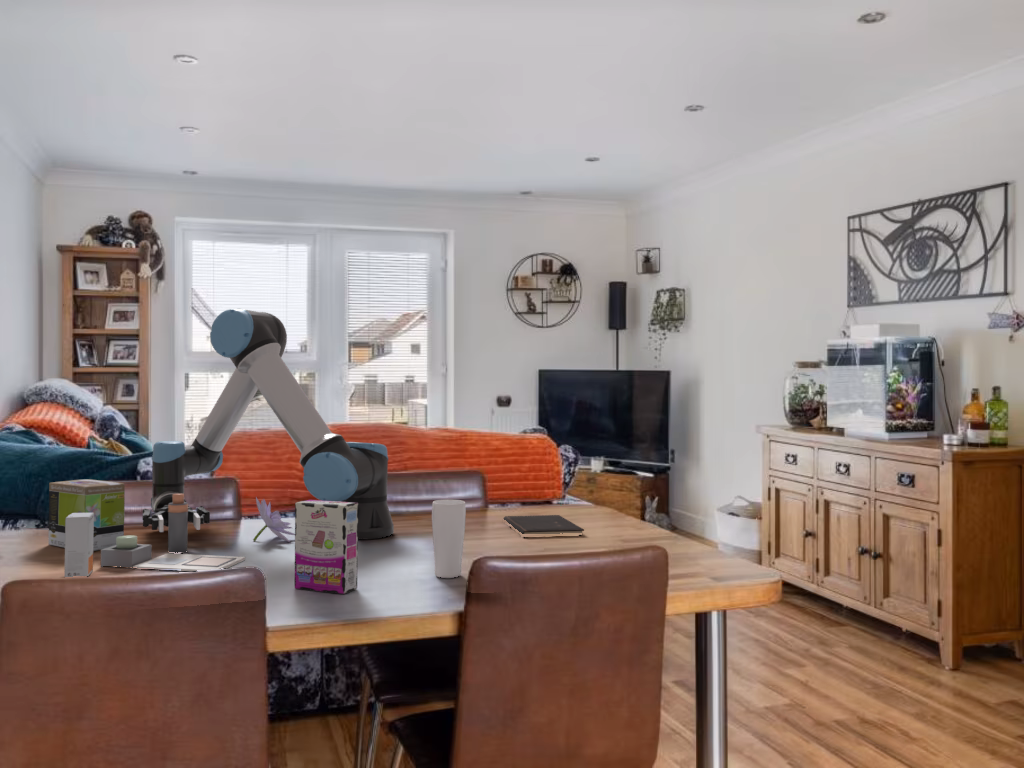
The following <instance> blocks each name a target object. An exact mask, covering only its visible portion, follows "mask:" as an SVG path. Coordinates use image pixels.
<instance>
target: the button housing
mask: <svg viewBox="0 0 1024 768" xmlns="http://www.w3.org/2000/svg"><path fill="white" fill-rule="evenodd" d="M152 546H153V545H152V544H145V543H143V544H141V543H137V547H134V548H128V549H119V548H116V545H114V546H111V547H108V548H105V549H102V550H100V567H102V568H104V567H103V566H117V567H120V566H121V567H133V566H135V565H137V564H140V563H143V562H145V561H148V560H151V559H153V558H152V557H153V556H152V554H153V553H152V548H153V547H152Z"/></svg>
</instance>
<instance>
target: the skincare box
mask: <svg viewBox="0 0 1024 768" xmlns="http://www.w3.org/2000/svg"><path fill="white" fill-rule="evenodd" d="M93 534H94V513H72V514H70V515H68V517H66V520H65V548H64V576H63V577H73V576H88V577H89V576H90V575H91V574H92V572H94V551H93Z"/></svg>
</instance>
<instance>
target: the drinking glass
mask: <svg viewBox="0 0 1024 768" xmlns="http://www.w3.org/2000/svg"><path fill="white" fill-rule="evenodd" d="M431 506H432V507H431V528H432V529H431V530H432V540H433V541H432V542H433V544H432V545H433V559H434V575H435V576H436V577H437V578H440V577H441V578H440V579H455V578H454V577H456V578H459V577H460V576H461V575H462V563H463V553H464V552H463V551H464V539H465V529H466V521H467V520H466V517H467V514H466V513H467V511H466V501H464V500H460V499H437V500H434V501H432V504H431ZM458 576H459V577H458Z"/></svg>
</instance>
